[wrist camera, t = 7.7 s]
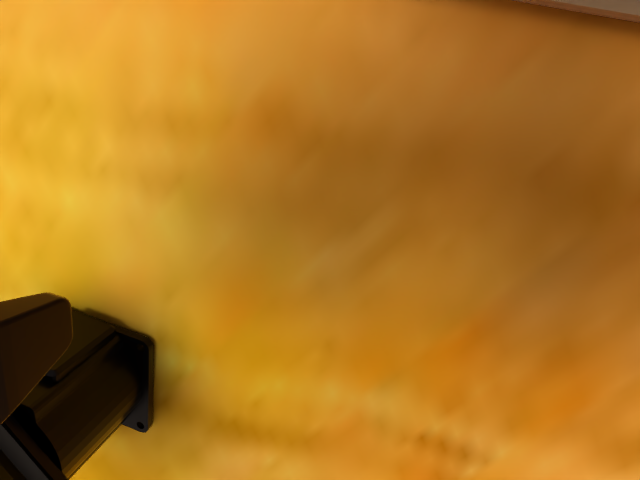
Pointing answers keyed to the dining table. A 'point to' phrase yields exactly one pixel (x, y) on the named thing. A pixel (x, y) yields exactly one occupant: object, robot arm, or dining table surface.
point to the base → (596, 7)
